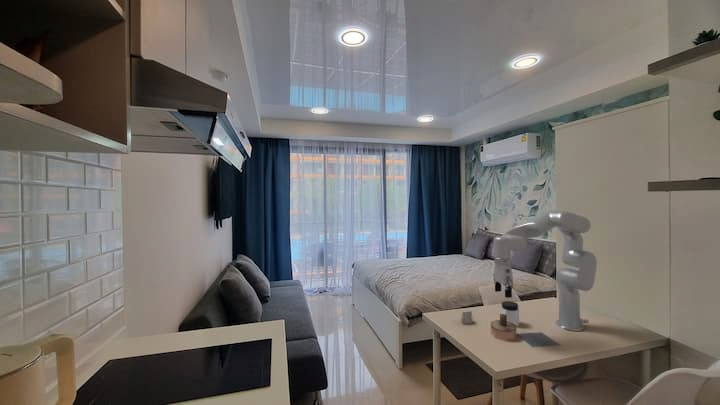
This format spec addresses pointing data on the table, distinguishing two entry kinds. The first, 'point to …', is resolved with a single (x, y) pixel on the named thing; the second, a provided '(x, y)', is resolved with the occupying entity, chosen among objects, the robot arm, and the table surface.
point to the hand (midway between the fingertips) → (503, 294)
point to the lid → (503, 324)
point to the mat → (537, 339)
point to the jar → (511, 312)
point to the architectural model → (466, 317)
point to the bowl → (503, 334)
